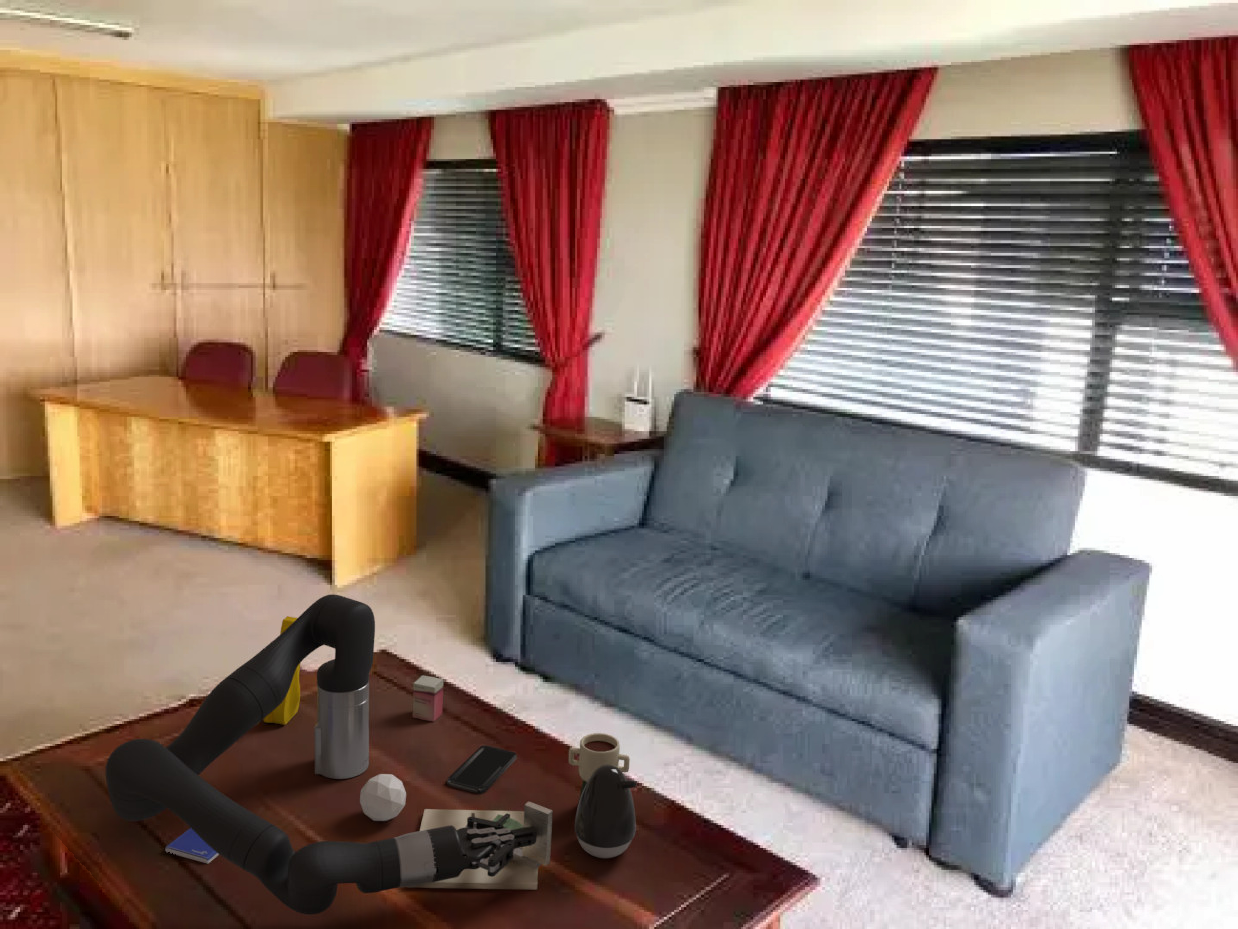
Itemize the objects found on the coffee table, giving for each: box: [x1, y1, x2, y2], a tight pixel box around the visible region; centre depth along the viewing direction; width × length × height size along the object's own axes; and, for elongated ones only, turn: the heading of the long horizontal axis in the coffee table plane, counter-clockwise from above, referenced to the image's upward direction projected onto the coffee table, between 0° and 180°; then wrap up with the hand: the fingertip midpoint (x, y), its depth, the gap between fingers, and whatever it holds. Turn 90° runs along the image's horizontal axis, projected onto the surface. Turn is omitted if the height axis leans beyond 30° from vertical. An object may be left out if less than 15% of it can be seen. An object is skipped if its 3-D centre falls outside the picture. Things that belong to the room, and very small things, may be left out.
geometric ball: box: [359, 773, 407, 822], centre depth 176 cm, size 8×8×8 cm
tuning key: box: [496, 801, 553, 869], centre depth 167 cm, size 16×11×11 cm
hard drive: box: [164, 827, 220, 865], centre depth 168 cm, size 2×8×12 cm
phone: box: [446, 744, 517, 795], centre depth 193 cm, size 8×1×15 cm
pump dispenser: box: [574, 765, 638, 859], centre depth 170 cm, size 10×10×15 cm
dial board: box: [409, 808, 539, 891], centre depth 169 cm, size 20×20×1 cm
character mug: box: [568, 732, 631, 802], centre depth 181 cm, size 11×7×13 cm, turn 81°
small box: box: [412, 674, 444, 723], centre depth 212 cm, size 5×4×8 cm
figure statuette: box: [257, 616, 302, 726], centre depth 205 cm, size 18×8×22 cm, turn 173°
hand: (534, 835), depth 161 cm, fingers closed
